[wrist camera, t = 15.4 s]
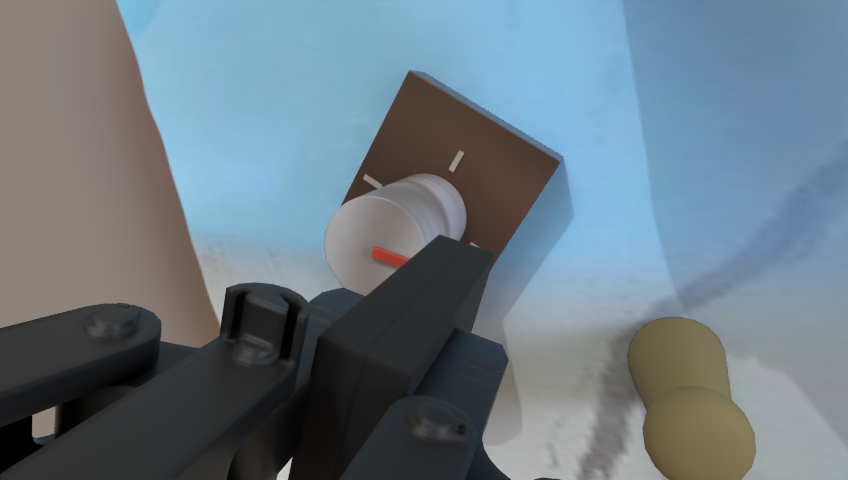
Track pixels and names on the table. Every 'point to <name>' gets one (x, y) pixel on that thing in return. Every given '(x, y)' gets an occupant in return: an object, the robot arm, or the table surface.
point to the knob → (390, 229)
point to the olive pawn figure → (689, 403)
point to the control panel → (459, 158)
